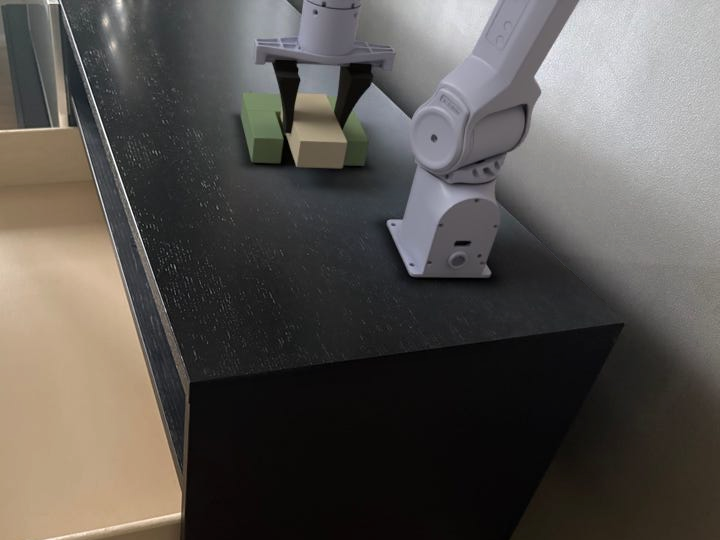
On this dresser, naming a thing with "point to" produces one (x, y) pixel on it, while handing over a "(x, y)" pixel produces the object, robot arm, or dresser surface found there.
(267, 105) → the green u-shaped block
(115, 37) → the dresser surface
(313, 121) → the cream block
